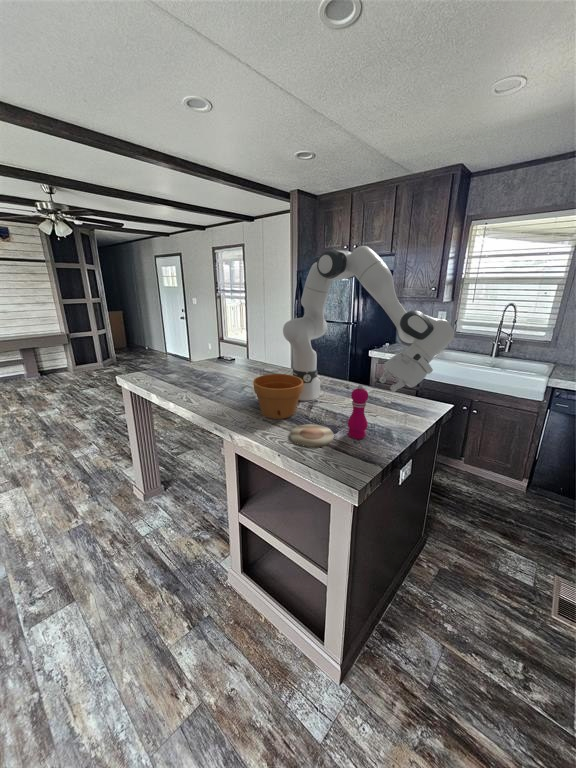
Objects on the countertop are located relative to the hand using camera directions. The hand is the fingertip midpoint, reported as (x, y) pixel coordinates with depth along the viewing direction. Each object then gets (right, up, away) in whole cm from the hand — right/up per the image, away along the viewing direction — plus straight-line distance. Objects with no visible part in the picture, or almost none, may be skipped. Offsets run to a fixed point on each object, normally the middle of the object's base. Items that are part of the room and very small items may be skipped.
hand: (386, 385), depth 116 cm
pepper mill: (-10, -19, +5) cm, 22 cm away
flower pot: (-40, -12, +25) cm, 48 cm away
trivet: (-27, -19, +4) cm, 33 cm away
